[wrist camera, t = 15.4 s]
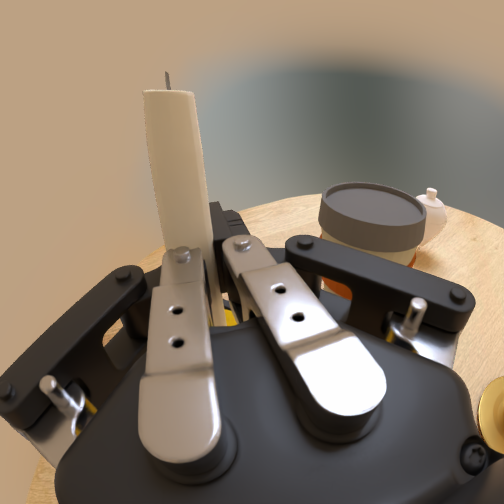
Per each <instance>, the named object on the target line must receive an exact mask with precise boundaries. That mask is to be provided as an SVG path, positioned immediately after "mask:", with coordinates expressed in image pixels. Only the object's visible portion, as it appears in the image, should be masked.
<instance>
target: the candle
mask: <svg viewBox="0 0 504 504" xmlns="http://www.w3.org/2000/svg"><path fill="white" fill-rule="evenodd" d="M165 76H166V86H167V90H145V91H143V96H144V111H145V124H146V137H147V146H148V153H149V159H150V166H151V173H152V179H153V185H154V191H155V196H156V202H157V207H158V212H159V218H160V223H161V228H162V232H163V237H164V242H165V247H166V252H167V251H168V250H170V249H176V248H178V247H181V246H186V247H188V248H189V249H194V248H198V247H199V248H200V249H201V251H202V256H203V260H204V259H205V263H206V268H207V274H208V280H209V286H210V291H211V297H212V304H211V307H212V312H213V320H214V326H234V325H237V323H236V320H235V318H234V316H233V313H232V311H230V310H226V309H224V304H223V298H222V293H221V291H220V284H219V277H218V270H217V264H216V257H215V249H214V242H213V231H212V223H211V216H210V208H209V201H208V193H207V185H206V177H205V169H204V160H203V151H202V144H201V138H200V131H199V125H198V119H197V111H196V104H195V97H194V94H193V92H188V91H176V90H171V88H170V82H169V74H168V73H167V72H165Z"/></svg>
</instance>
